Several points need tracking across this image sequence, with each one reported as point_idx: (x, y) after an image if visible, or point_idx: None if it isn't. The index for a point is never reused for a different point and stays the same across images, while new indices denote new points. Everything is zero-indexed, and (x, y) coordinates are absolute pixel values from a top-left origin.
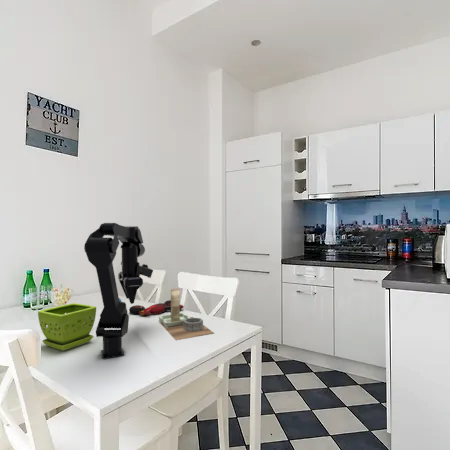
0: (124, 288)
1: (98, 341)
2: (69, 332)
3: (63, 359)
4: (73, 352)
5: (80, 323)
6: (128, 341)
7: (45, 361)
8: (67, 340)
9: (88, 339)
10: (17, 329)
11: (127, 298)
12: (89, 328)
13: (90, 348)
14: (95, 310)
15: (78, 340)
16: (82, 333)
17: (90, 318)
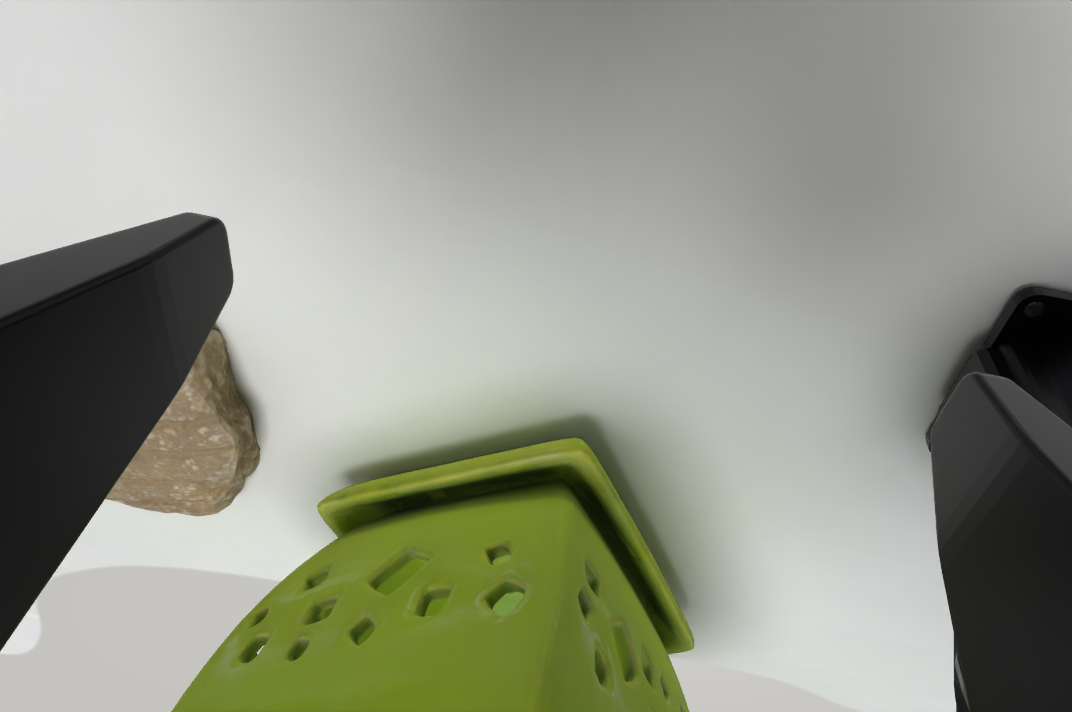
0: (15, 572)
1: (605, 372)
2: (679, 707)
3: (821, 621)
4: (733, 557)
5: (649, 705)
6: (858, 135)
7: (763, 674)
8: (661, 643)
9: (605, 474)
10: (38, 626)
11: (231, 270)
12: (590, 551)
13: (744, 465)
14: (557, 697)
15: (646, 562)
16: (618, 576)
17: (591, 652)
